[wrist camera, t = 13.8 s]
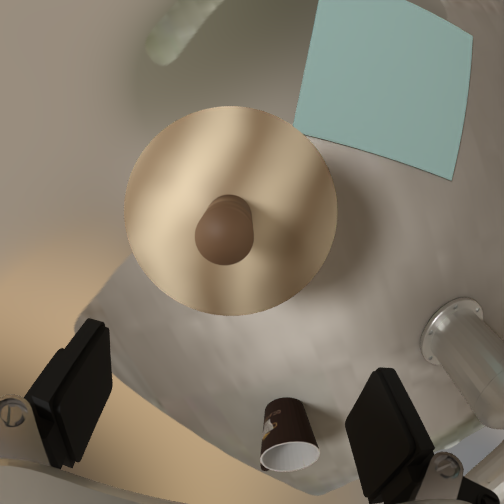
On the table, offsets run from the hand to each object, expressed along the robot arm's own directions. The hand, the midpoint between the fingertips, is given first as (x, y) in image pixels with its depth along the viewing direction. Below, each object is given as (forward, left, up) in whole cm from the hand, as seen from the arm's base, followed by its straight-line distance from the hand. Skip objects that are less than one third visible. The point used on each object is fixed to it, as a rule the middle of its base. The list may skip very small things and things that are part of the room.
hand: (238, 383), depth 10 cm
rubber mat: (-15, -20, -28) cm, 38 cm away
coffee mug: (-12, +33, -29) cm, 45 cm away
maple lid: (+1, -1, -17) cm, 17 cm away
